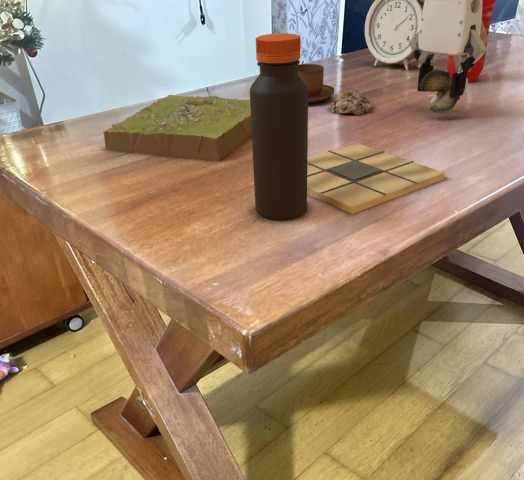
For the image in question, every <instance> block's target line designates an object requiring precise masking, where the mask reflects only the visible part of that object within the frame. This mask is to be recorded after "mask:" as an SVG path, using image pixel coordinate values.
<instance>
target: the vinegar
mask: <svg viewBox="0 0 524 480" xmlns="http://www.w3.org/2000/svg"><path fill="white" fill-rule="evenodd" d="M301 37H302V36H301V35H299V34H296V33H290V32H289V33H285V32H284V33H281V32H280V33H277V32H276V33H267V34H262V35H259V36H257V37H256V38H255V59H256V61H257V63H256V65H257V66H258V67H259V73H258V76H257V77H256V79H254V81H253V82H252V84H251V85H250V88H249V100H250V109H251V129H252V135H251V144H252V147H251V148H252V167H253V186H254V187H253V188H254V189H253V190H254V208H255V211H256V213H257V214H258V215H259V216H261V217H262V218H264V219H267V220H273V221H288V220H293V219H296V218H299V217H300V216H302V215H304V214H305V213H306V211H307V209H308V194H307V158H309V157H308V153H309V152H308V149H309V146H308V144H309V143H308V142H309V103H308V84H307V83H306V82H305V81H304V79H303V78H302V77H301V76H300V75H299V74H298V72H297V65H300V64H301V60H300V59H301V47H302V45H301Z"/></svg>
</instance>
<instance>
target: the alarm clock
mask: <svg viewBox="0 0 524 480" xmlns="http://www.w3.org/2000/svg"><path fill="white" fill-rule="evenodd" d="M370 1H371V3H372V4H371V6H370V8H369V10H368V12H367V14H366V17H365V24H364V39H365V43H366V45H367V47H368V50H369V52H370V53H371V54H372V56H373V57H374V58H375V60H374V64H373V66H374V67H376V66H377V65H378V63H379V62H382V63H384V64H398V63H399V64H400V65H403V66H404V68H405V70H406V71H408V70H409V64H408V63H409V62H408V61H411V60H414V59H415V57H414V52H413V51H412V49H411V47H410V44H409V42H410V40H411V39H412V38H413V37H414V36H415V35H416V34H417V33H418V32H419V30H420V23H421V17H422V11H423V7H424V2H425V0H370Z"/></svg>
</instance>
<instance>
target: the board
mask: <svg viewBox="0 0 524 480" xmlns="http://www.w3.org/2000/svg"><path fill="white" fill-rule="evenodd" d="M445 176H446V172H445V171H441V170H439V169H436V168H433V167H430V166H426V165H423V164H420V163H417V162H414V160H408V159H405V158H402V157H400V156H396V155H393V154H391V153H387V152H385V151H383V150H382V151H381V150H379V149H376V148H372V147H369V146H366V145H364V144H361V143H358V142H356V143H353V144H349V145H346V146H343V147H340V148H336V149H332V150H328V151H326V152H323V153H320V154H316V155H312V156H309V157H308V158H307V195H308V196H311V197H313V198H315V199H317V200H320V201H322V202H324V203H327V204H329V205H331V206H333V207H335V208H337V209H339V210H341V211H343V212H346V213H348V214H350V215H353V214H356V213H359V212H361V211H364V210H367V209H370V208H372V207H375V206H377V205H380V204H382V203H386V202H388V201H391V200H393V199H395V198H399V197H401V196H404V195H406V194H409V193H412V192H414V191H417V190H420V189H422V188H425V187H428V186H430V185H433V184H435V183H438V182H441V181H443V180H445Z"/></svg>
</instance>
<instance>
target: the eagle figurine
mask: <svg viewBox="0 0 524 480" xmlns="http://www.w3.org/2000/svg"><path fill="white" fill-rule="evenodd" d="M468 85H469V82H468V78H467V79H466V85H465V90H467V88H468ZM450 88H451V76H450V73H449V71H448V70H447V71H445V70H440V69H438V68H434V69H433V71H431V72H429V73H428V74H426V76H425V77H424V78H423V80H422V81H421V84H420V89H421V92H424V93H435V92H436V94H435V95H434V96H433V98H432V99H431V100H430V103H429V107H428V109H427V110H428V111H429V112H431V113H432V114H438V113H446V112H449V111H451V110H452V109H454V107H455V105H457V102H458V101H460V99H461V96H458V97H454V98H452V97H450Z"/></svg>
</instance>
